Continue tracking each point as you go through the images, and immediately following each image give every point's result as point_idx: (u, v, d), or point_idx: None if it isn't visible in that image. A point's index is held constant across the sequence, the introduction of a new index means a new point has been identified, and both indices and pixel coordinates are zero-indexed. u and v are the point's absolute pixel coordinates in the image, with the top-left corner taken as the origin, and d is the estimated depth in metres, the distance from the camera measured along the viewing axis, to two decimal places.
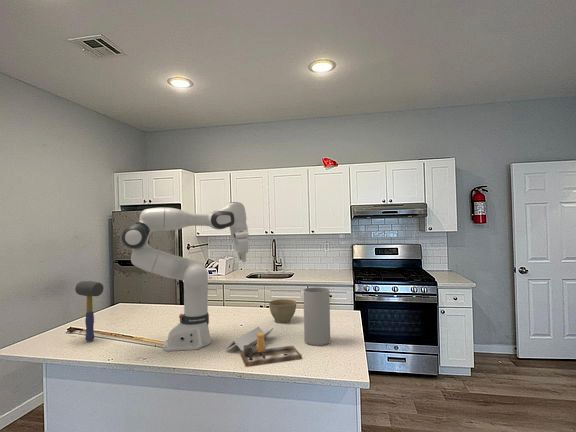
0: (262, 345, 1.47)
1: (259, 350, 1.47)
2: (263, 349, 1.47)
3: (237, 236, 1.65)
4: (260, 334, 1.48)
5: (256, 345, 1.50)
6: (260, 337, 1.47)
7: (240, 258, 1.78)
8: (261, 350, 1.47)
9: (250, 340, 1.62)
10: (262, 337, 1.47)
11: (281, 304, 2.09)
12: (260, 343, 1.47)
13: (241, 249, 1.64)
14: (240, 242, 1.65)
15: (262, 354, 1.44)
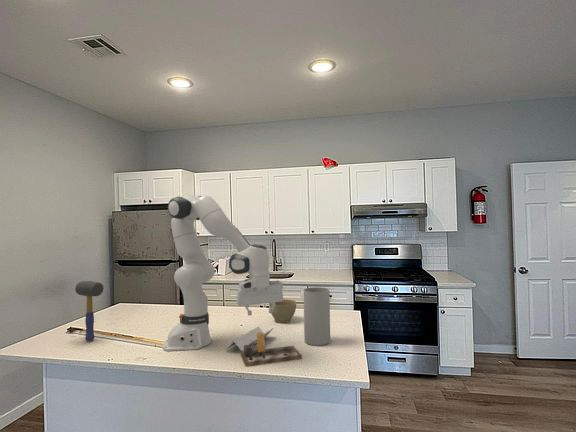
0: (262, 345, 1.47)
1: (259, 350, 1.47)
2: (263, 349, 1.47)
3: None
4: (260, 334, 1.48)
5: (256, 345, 1.50)
6: (260, 337, 1.47)
7: (269, 310, 1.51)
8: (261, 350, 1.47)
9: (250, 340, 1.62)
10: (262, 337, 1.47)
11: (281, 304, 2.09)
12: (260, 343, 1.47)
13: None
14: (237, 291, 1.48)
15: (262, 354, 1.44)
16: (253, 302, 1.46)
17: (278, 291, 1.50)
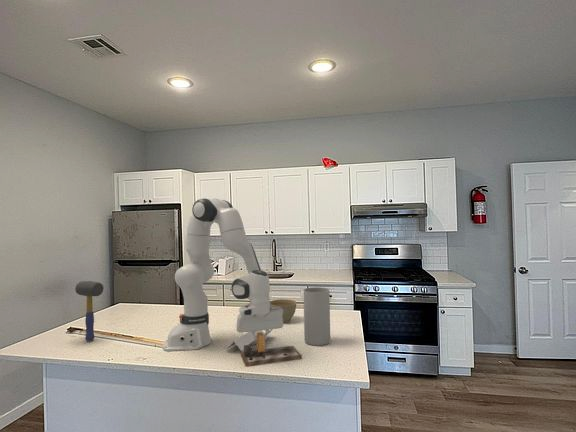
0: (262, 345, 1.47)
1: (259, 350, 1.47)
2: (263, 349, 1.47)
3: (239, 310, 1.49)
4: (260, 334, 1.48)
5: (256, 345, 1.50)
6: (260, 337, 1.47)
7: None
8: (261, 350, 1.47)
9: (250, 340, 1.62)
10: (262, 337, 1.47)
11: (281, 304, 2.09)
12: (260, 343, 1.47)
13: None
14: (237, 318, 1.48)
15: (262, 354, 1.44)
16: (253, 329, 1.46)
17: (279, 317, 1.50)
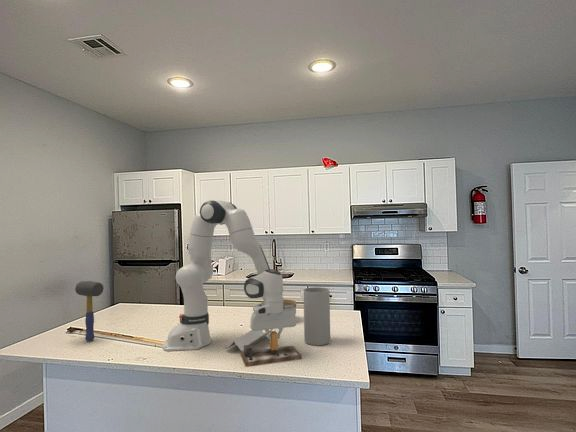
0: (276, 343, 1.49)
1: (273, 348, 1.49)
2: (277, 347, 1.49)
3: (253, 309, 1.51)
4: (274, 332, 1.50)
5: None
6: (274, 335, 1.49)
7: None
8: (275, 348, 1.49)
9: (250, 340, 1.62)
10: (276, 335, 1.49)
11: None
12: (274, 341, 1.49)
13: None
14: (251, 316, 1.49)
15: (276, 352, 1.46)
16: (267, 327, 1.48)
17: (292, 316, 1.51)
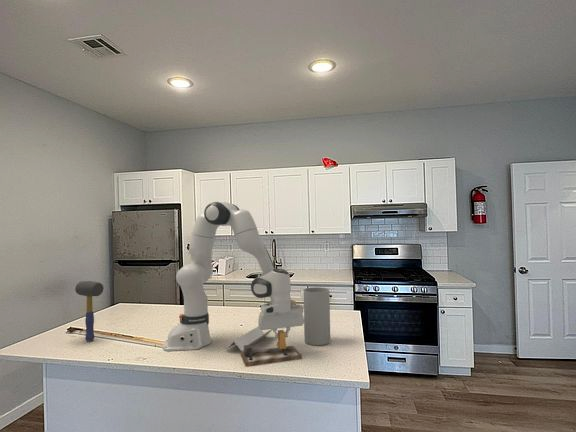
0: (283, 342, 1.50)
1: (280, 347, 1.50)
2: (284, 346, 1.50)
3: None
4: (281, 332, 1.51)
5: (277, 342, 1.53)
6: (281, 334, 1.50)
7: None
8: (282, 347, 1.50)
9: (250, 340, 1.62)
10: (283, 334, 1.50)
11: None
12: (281, 340, 1.50)
13: (258, 323, 1.50)
14: (259, 315, 1.50)
15: (284, 351, 1.47)
16: (275, 326, 1.49)
17: (299, 315, 1.53)
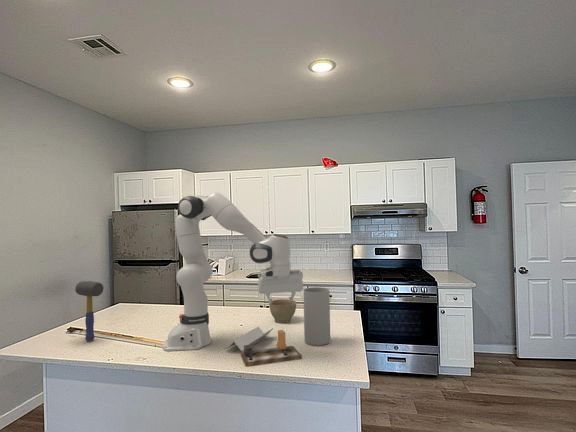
0: (283, 342, 1.50)
1: (280, 347, 1.50)
2: (284, 346, 1.50)
3: (260, 273, 1.52)
4: (281, 332, 1.51)
5: (277, 342, 1.53)
6: (281, 334, 1.50)
7: (289, 299, 1.53)
8: (282, 347, 1.50)
9: (250, 340, 1.62)
10: (283, 334, 1.50)
11: (281, 304, 2.09)
12: (281, 340, 1.50)
13: None
14: None
15: (284, 351, 1.47)
16: (274, 290, 1.49)
17: (299, 280, 1.53)
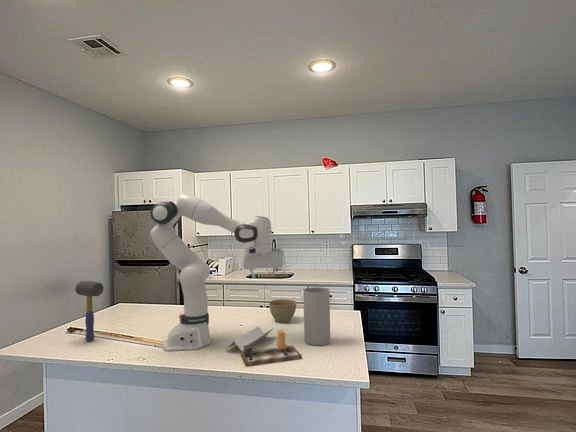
0: (283, 342, 1.50)
1: (280, 347, 1.50)
2: (284, 346, 1.50)
3: None
4: (281, 332, 1.51)
5: (277, 342, 1.53)
6: (281, 334, 1.50)
7: (271, 275, 1.71)
8: (282, 347, 1.50)
9: (250, 340, 1.62)
10: (283, 334, 1.50)
11: (281, 304, 2.09)
12: (281, 340, 1.50)
13: (242, 264, 1.68)
14: (243, 257, 1.68)
15: (284, 351, 1.47)
16: (257, 266, 1.67)
17: (279, 257, 1.70)
